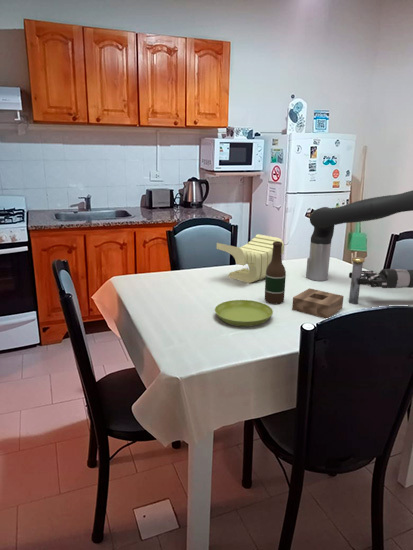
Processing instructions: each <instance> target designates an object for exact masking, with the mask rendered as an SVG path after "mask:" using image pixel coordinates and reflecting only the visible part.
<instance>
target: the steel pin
mask: <svg viewBox="0 0 413 550" xmlns="http://www.w3.org/2000/svg"><path fill="white" fill-rule="evenodd" d="M351 261H352V270H351V272H352V278H350V289H349V298H348V303H349V304H352V305H358V303H359V298H360V289H361V285H358V284H357V279H361V275H363V274H362V271H363V267H364V265H363V264H364V263H365V261H366V259H365V258H363V257H358V256H357V257H356V256H353V257H352V258H351Z"/></svg>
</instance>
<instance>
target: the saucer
mask: <svg viewBox="0 0 413 550" xmlns="http://www.w3.org/2000/svg"><path fill="white" fill-rule="evenodd" d="M214 312H215V314H216V316H217V317H218V318H219V319H220V320H221V321H223V322H224V323H226V324H228V325H230V326H231V325H232V326H235V327H256V326H259V325H262V324H264V323H266V322H267V321H269V319H270V318H271V317H272V316H273V313H274V310H273V308H272V307H270V305H268V304H266V303H263V302H261V301H255V300H252V299H251V300H250V299H249V300H247V299H234V300H227V301H224V302H223V301H222V302H221V303H219V304H217V305H216V306H215V307H214Z"/></svg>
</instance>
